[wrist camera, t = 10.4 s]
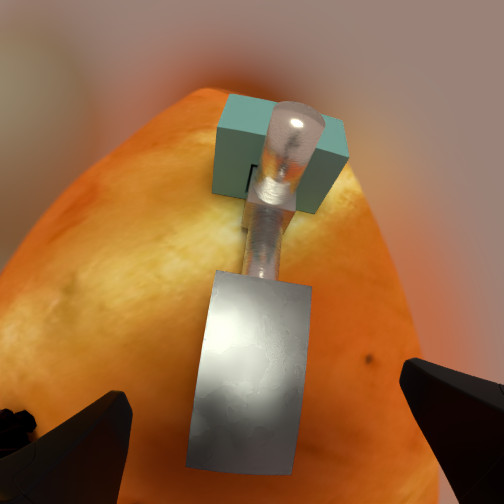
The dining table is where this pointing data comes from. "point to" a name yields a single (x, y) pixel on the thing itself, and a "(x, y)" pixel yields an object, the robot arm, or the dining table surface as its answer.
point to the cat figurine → (14, 431)
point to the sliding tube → (277, 184)
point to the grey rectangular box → (250, 376)
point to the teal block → (250, 147)
